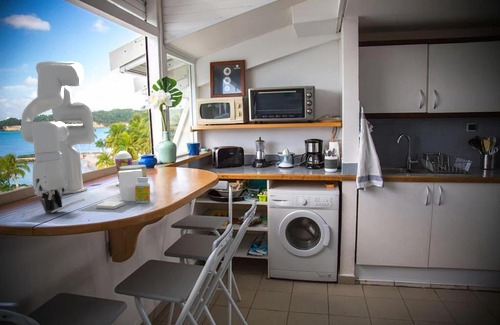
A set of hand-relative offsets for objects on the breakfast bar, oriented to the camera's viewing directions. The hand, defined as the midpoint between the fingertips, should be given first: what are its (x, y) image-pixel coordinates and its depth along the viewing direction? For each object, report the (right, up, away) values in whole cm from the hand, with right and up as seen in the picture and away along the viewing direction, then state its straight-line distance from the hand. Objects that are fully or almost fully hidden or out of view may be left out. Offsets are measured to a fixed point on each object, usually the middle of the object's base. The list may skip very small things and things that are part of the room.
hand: (54, 208), depth 112 cm
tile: (+14, +1, +7) cm, 15 cm away
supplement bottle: (+27, +1, +11) cm, 30 cm away
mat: (+18, -1, +6) cm, 19 cm away
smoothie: (+4, +5, +55) cm, 56 cm away
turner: (+4, 0, -1) cm, 4 cm away
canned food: (+17, +3, +32) cm, 36 cm away
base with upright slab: (+21, +1, +18) cm, 28 cm away
